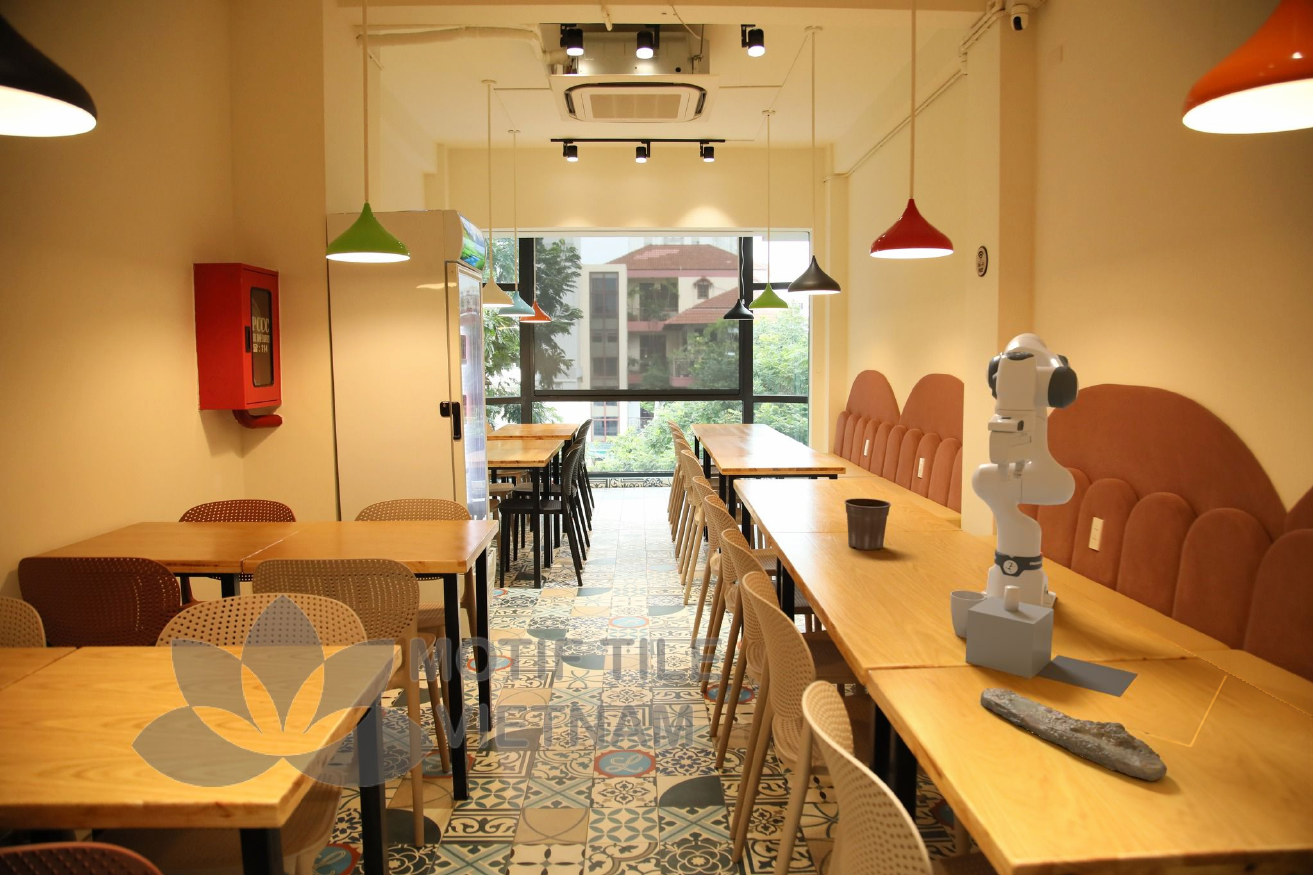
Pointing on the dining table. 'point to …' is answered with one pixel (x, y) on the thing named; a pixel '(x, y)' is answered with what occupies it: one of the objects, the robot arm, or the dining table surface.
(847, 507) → the plant pot
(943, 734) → the dining table surface
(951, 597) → the cup
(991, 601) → the cover
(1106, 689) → the mat
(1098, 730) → the elongated rock
